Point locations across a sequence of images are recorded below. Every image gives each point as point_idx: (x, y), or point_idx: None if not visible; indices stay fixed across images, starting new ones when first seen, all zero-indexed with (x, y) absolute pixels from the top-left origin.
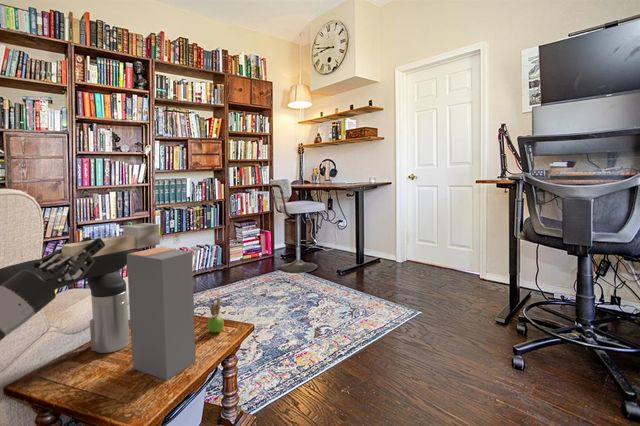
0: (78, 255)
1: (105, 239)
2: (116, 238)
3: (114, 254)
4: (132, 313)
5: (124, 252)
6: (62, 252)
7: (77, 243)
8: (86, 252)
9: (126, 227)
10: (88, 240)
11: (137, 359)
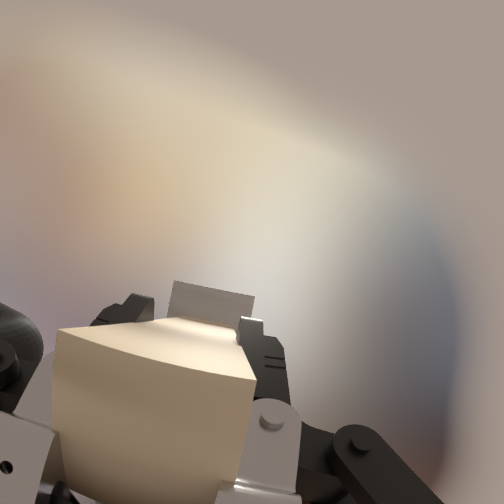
0: (294, 469)
1: (204, 328)
2: (227, 329)
3: (22, 345)
4: (95, 502)
5: (37, 344)
6: (62, 421)
7: (157, 336)
8: (351, 429)
9: (192, 288)
10: (146, 319)
11: None
